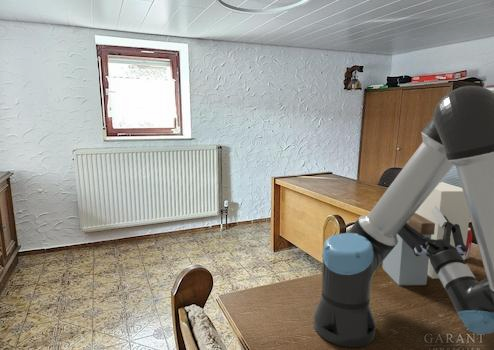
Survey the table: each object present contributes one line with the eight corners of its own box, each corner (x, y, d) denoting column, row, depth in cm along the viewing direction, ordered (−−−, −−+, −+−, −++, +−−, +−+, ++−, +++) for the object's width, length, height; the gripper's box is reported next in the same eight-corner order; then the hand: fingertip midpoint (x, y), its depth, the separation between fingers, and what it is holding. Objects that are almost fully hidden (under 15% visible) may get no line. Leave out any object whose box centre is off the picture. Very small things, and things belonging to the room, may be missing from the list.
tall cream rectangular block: (432, 278, 106) (441, 191, 101) (409, 259, 121) (415, 182, 116) (462, 278, 106) (472, 191, 101) (435, 259, 121) (442, 182, 116)
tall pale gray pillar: (398, 285, 102) (403, 229, 98) (382, 268, 113) (385, 217, 110) (426, 284, 102) (431, 228, 99) (407, 267, 114) (411, 217, 110)
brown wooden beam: (412, 234, 93) (413, 223, 93) (380, 213, 115) (380, 204, 114) (442, 234, 94) (443, 223, 93) (404, 213, 115) (405, 203, 115)
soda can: (473, 261, 119) (477, 230, 117) (454, 261, 119) (458, 230, 117) (461, 253, 126) (464, 224, 124) (443, 253, 126) (446, 224, 124)
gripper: (403, 278, 85) (375, 217, 102) (488, 277, 85) (447, 217, 102) (412, 261, 80) (382, 201, 97) (503, 260, 80) (457, 200, 97)
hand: (415, 209), depth 99 cm, fingers open, 11 cm apart
